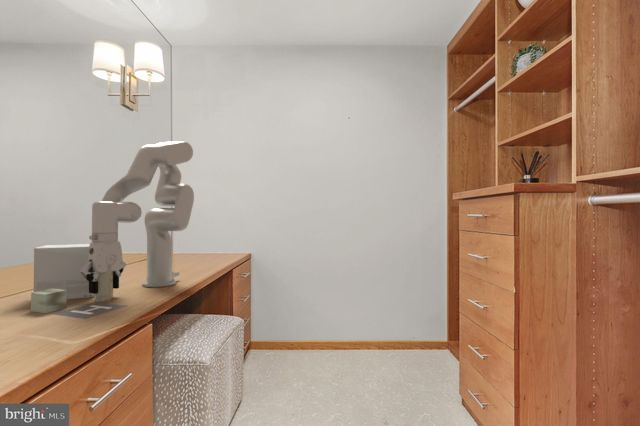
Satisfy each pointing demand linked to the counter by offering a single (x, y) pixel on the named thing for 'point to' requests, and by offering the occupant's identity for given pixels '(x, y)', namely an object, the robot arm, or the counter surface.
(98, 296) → the skincare box
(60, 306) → the sage block
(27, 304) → the counter surface
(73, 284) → the supplement box
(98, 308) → the letter card
